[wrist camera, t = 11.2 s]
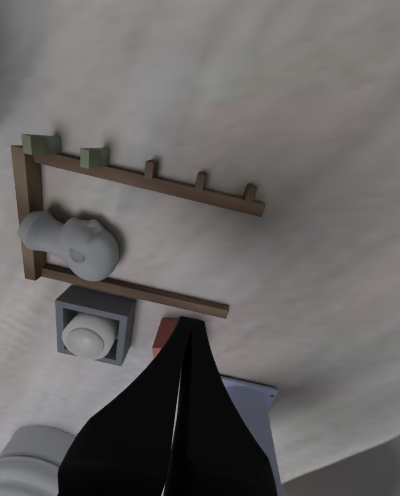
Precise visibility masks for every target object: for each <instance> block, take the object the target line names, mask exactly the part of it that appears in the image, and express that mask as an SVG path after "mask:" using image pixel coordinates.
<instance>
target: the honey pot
mask: <svg viewBox="0 0 400 496" xmlns="http://www.w3.org/2000/svg"><path fill="white" fill-rule="evenodd" d="M74 439H75V437H73V436H72V435H70V434H68V433H65V432H63V431H61V430H58V429H54V428H50V427H43V426H28V427H25V428H21V429H20V430H18V431H17V432H16V433H15V434H14V435H13V437H12V438H11V440H10V441H9V442H8V444H7V445H6V447H5V448H4V449H3V451H2V452H1V454H0V496H57V495H58V493H59V491H58V476H57V473H58V469H59V467H60V465H61V463H62V461H63V459H64V457H65V455H66V453H67V451H68V449H69V447H70V446H71V444H72V442H73V441H74Z"/></svg>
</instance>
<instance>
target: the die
mask: <svg viewBox="0 0 400 496" xmlns="http://www.w3.org/2000/svg"><path fill="white" fill-rule="evenodd" d="M178 320H179V319H162V320H161V323H160V326H159V329H158V332H157V335H156V338H155V341H154V344H153V347H152V349H153V355H154V358H155V357H156V356H157V354H158V353H159V352H160V350H161V349H162V348H163V346H164V345H165V343H166V342H167V340H168V339H169V337H170V336H171V334H172V332H173V331H174V329H175V327H176V325H177V323H178ZM196 320H199V319H196ZM180 379H181V375H180Z"/></svg>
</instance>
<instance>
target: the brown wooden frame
mask: <svg viewBox="0 0 400 496" xmlns="http://www.w3.org/2000/svg"><path fill="white" fill-rule="evenodd" d="M22 144H23V146H21V145H11V152H12V161H13V171H14V180H15V189H16V198H17V208H18V217H19V226H20V224H21V223H22V221H23V220H24V219H25V217H26V216H27V215H28V214H30V213H31V212H34V211H43V205H42V189H41V172H40V164H44V165H48V166H52V167H57V168H61V169H65V170H69V171H73V172H77V173H81V174H86V175H90V176H94V177H98V178H102V179H106V180H110V181H115V182H119V183H123V184H127V185H131V186H135V187H139V188H144V189H148V190H152V191H156V192H160V193H164V194H169V195H173V196H177V197H181V198H185V199H189V200H193V201H198V202H202V203H206V204H210V205H214V206H218V207H222V208H227V209H231V210H235V211H239V212H243V213H247V214H251V215H256V216H260V217H262V214H263V211H264V208H265V204H264V203H262V202H258V201H253V199H254V196H255V193H256V189H257V188H256V187H255V185H251V184H247V186H246V189H245V192H244V196H243V198H241V197H237V196H233V195H229V194H225V193H220V192H216V191H212V190H208V189H204V188H203V187H204V183H205V178H206V173H202V172H199V173H198V176H197V180H196V185H195V186H192V185H188V184H183V183H179V182H175V181H171V180H167V179H163V178H159V177H156V175H157V168H158V162H157V161H153V160H149V161H146V165H145V174H142V173H138V172H134V171H130V170H126V169H122V168H117V167H113V166H109V151H110V150H108V149H104V148H80V158H76V157H72V156H68V155H64V154H61V144H60V138H59V137H55V136H44V135H28V134H22ZM21 245H22V254H23V263H24V272H25V278H26V279H31V280H37V279H38V278H40V277H41V276H42V277H46V278H51V279H55V280H60V281H64V282H68V283H73V284H77V285H81V286H86V287H90V288H94V289H99V290H103V291H107V292H112V293H116V294H121V295H125V296H129V297H134V298H138V299H142V300H147V301H151V302H155V303H160V304H164V305H168V306H173V307H177V308H181V309H186V310H190V311H195V312H199V313H203V314H208V315H212V316H216V317H221V318H225V319H226V317H227V314H228V311H229V310H228V306H226V305H222V304H217V303H213V302H209V301H204V300H200V299H196V298H191V297H187V296H183V295H178V294H174V293H170V292H165V291H161V290H157V289H152V288H148V287H144V286H139V285H135V284H131V283H126V282H122V281H118V280H113V279H109V278H105V279H103V280H100V281H87V280H84V279H82V278H80V277H79V276H77V275H76V274H75V273H74V272H73V271H72V270H70V269H66V268H61V267H57V266H53V265H48V264H46V253H45V252H44V251H38V250H30V249H28V248H27V247H26V246H25V245H24V243H23V242H22V240H21Z"/></svg>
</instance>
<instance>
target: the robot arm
mask: <svg viewBox="0 0 400 496" xmlns="http://www.w3.org/2000/svg"><path fill="white" fill-rule="evenodd" d="M180 375H181V379H180ZM179 382H180V390H179V402H178V412H177V420H176V425H175V431H174V437H173V428H174V419H175V412H176V404H177V396H178V389H179ZM277 394H278V392H277V389H276V388H272V387H268V386H263V385H259V384H254V383H250V382H245V381H241V380H236V379H232V378H227V377H223V376H220V374H219V372H218V369H217V366H216V364H215V361H214V358H213V355H212V352H211V348H210V345H209V341H208V337H207V333H206V327H205V323H204V321H201V320H196V319H192V318H188V317H183V316H181V317H179V320H178V323H177V325H176V327H175V329H174V331H173V332H172V334H171V336H170V337H169V339H168V340H167V342H166V343H165V345H164V346H163V348H162V349H161V350H160V352H159V353H158V354H157V356H156V357H155V358H154V359H153V361H152V362H151V363H150V364H149V365H148V366H147V367H146V369H145V370H144V371H143V372H142V373H141V374H140V375H139V376H138V377H137V378H136V379H135V380H134V381H133V382H132V383H131V384H130V385H129V386H128V387H127V388H126V389H125V390H124V391H123V392H121V393H120V394H119V395H118V396H117V397H116V398H115V399H114V400H112V401H111V402H110V403H109V404H108V405H106V406H105V407H104V408H102V409H101V410H100V411H99V412H97V413H96V414H95V415H94V416H92V417H91V418H90V419H89V420H88V421H87V423H86V424H85V425H84V427H83V428H82V429H81V431H80V432H79V433H78V435H77V436H76V438H75V439H74V441H73V442H72V444H71V446H70V447H69V449H68V451H67V453H66V455H65V457H64V459H63V461H62V463H61V465H60V467H59V469H58V473H57V476H58V491H59V493H58V495H57V496H161V494H162V491H163V488H164V485H165V489H164V494H163V496H284V491H283V486H282V485H281V481H280V475H279V470H278V465H277V459H276V454H275V448H274V443H273V438H272V432H271V427H270V422H269V416H268V410H269V408H270V406H271V405H272V403H273V401H274V399H275V398H276V396H277ZM172 437H173V443H172ZM171 446H172V449H171ZM165 482H166V483H165Z"/></svg>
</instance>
